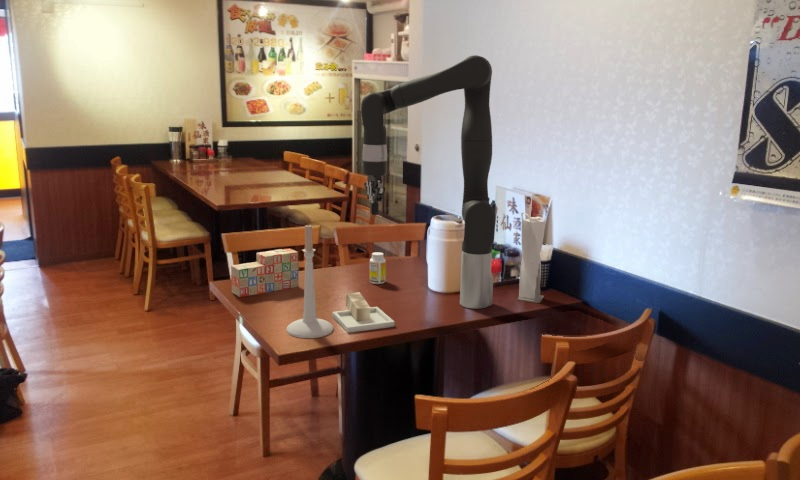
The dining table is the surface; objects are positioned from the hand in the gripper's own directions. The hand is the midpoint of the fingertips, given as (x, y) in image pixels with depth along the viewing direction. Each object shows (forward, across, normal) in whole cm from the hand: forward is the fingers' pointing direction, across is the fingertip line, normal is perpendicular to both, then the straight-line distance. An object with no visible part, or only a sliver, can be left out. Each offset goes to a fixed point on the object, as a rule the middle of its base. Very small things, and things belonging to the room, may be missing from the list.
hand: (374, 214), depth 212 cm
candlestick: (+27, -22, +27) cm, 44 cm away
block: (+23, -12, +11) cm, 28 cm away
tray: (+27, -21, +11) cm, 36 cm away
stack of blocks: (+27, +20, +31) cm, 46 cm away
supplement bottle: (+27, +15, -7) cm, 32 cm away
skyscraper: (+27, -18, -47) cm, 57 cm away
